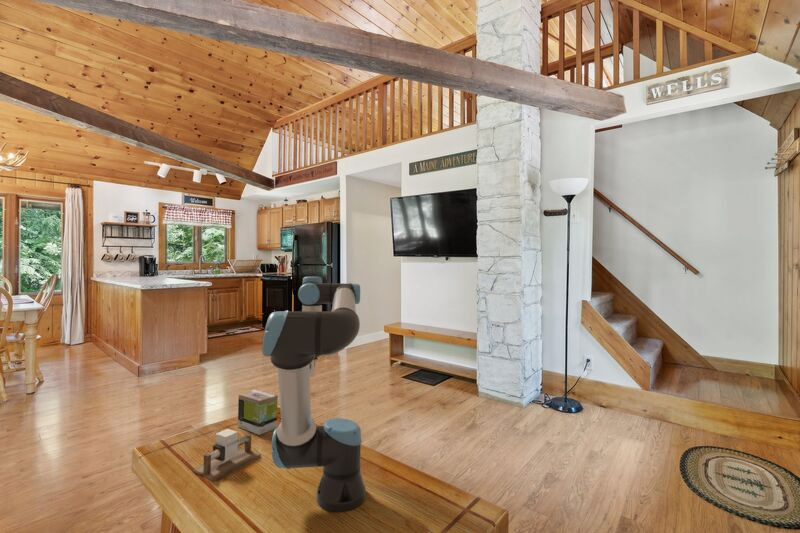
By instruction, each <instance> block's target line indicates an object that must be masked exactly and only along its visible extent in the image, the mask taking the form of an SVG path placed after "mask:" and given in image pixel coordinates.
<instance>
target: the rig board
mask: <svg viewBox="0 0 800 533" xmlns="http://www.w3.org/2000/svg"><path fill="white" fill-rule="evenodd" d="M244 436H248V438H249V441H248V442H247V443H245V444H244V448H243V447H241V446H239V447H237V456H235V457H233V458H231V459H230V460H228V461H226V462H225V461H219V460H216V459H213V460H211V455H210V454H209V453H205V454H203V464H201V465H199V466H197V467H195V468H193V469H192V470H193V472H192V473H193V474H196V473H197V474H196V475H199V476H201V475H202V476H201V477H204V476H205V477H204V478H206V477H207V479H209V478H210V479H209V480H211V479H212V480H211V481H214V482H219V481H220V480H222V479H224V478H226V477H228V476H230V475H232V474H233V473H235V472H237V471H238V470H241V468H243V467H246V466H247V465H249V464H251V463H252V462H254V461H256V460H257V459H260V458H261V456H262V454H261V453H259V452H256V451H253V450H252V434H249V433H246V434H245V435H244Z"/></svg>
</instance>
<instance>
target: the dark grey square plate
mask: <svg viewBox="0 0 800 533" xmlns="http://www.w3.org/2000/svg"><path fill="white" fill-rule="evenodd" d="M217 448H218V449H220V450H221V457H218V458H215V459H216V460H219V461H224V460H225V447H224V446H221V445H218V444H212V452H213V451H215V450H216V449H217Z"/></svg>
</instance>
